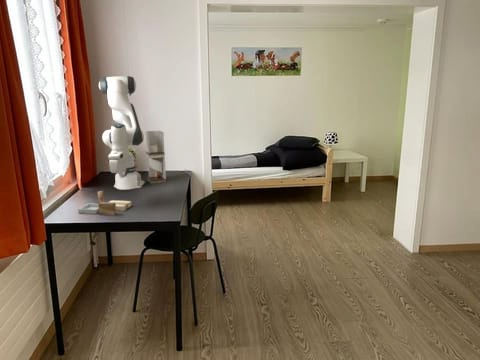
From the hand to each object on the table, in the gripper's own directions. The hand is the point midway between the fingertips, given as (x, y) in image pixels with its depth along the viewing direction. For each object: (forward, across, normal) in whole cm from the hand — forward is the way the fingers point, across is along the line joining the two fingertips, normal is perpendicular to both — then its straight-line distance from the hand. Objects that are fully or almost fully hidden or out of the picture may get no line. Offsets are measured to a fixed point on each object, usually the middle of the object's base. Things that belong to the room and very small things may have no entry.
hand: (122, 177), depth 212 cm
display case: (+15, -54, -1) cm, 56 cm away
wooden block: (+15, +20, 0) cm, 25 cm away
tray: (+15, +16, -11) cm, 25 cm away
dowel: (+15, +6, -11) cm, 20 cm away
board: (+16, +9, 0) cm, 18 cm away
